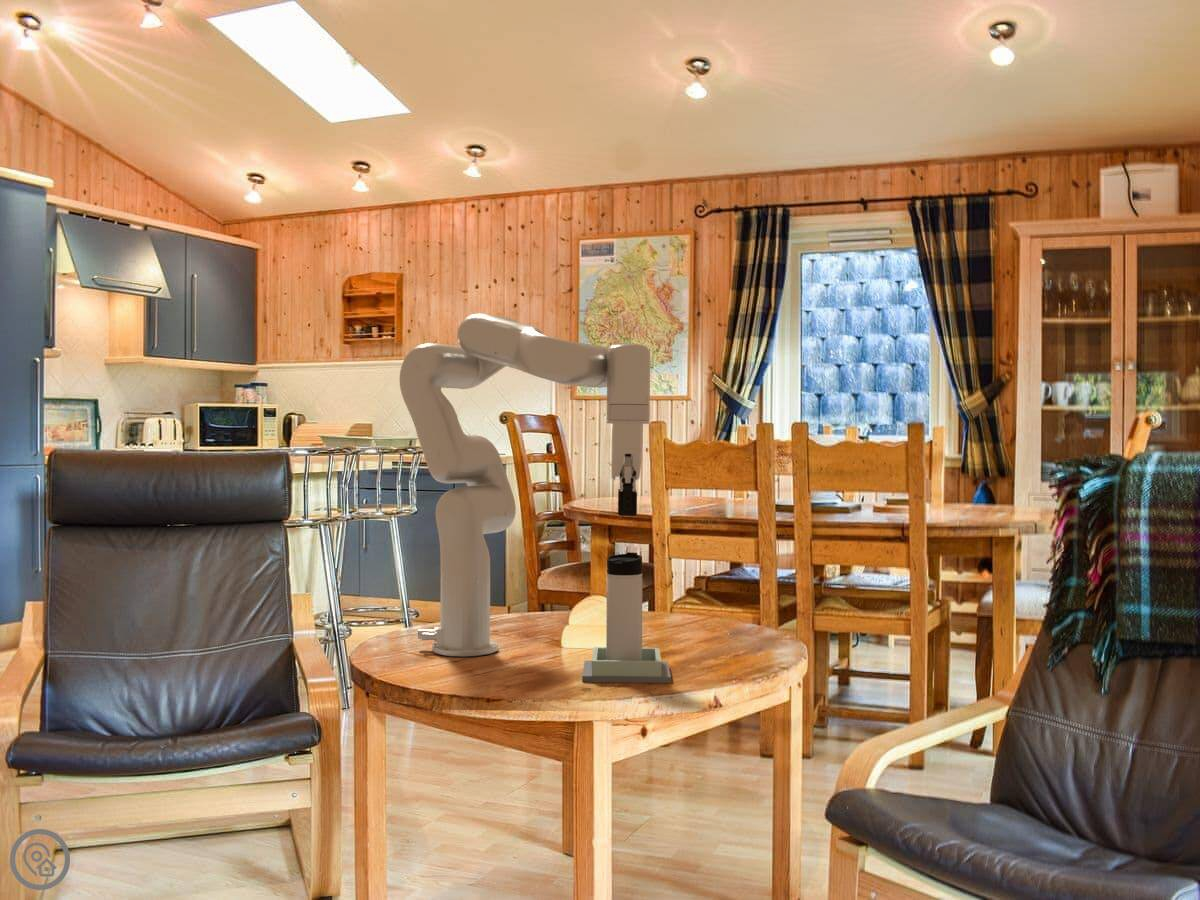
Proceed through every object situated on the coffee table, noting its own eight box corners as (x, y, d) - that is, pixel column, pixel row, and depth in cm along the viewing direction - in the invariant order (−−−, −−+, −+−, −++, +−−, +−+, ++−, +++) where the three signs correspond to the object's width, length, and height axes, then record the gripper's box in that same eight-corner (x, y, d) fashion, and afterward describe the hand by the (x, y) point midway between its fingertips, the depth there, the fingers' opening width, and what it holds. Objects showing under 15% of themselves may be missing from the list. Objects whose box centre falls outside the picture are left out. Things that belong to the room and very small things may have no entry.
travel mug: (648, 666, 189) (649, 553, 189) (632, 673, 183) (632, 557, 183) (617, 662, 192) (617, 551, 191) (600, 669, 186) (600, 555, 186)
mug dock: (582, 681, 181) (582, 661, 181) (584, 666, 193) (584, 646, 193) (670, 683, 181) (671, 662, 181) (667, 667, 193) (667, 647, 193)
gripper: (607, 416, 195) (606, 509, 195) (605, 414, 178) (605, 517, 178) (648, 416, 195) (647, 510, 195) (651, 414, 178) (650, 517, 178)
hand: (627, 513), depth 187 cm, fingers open, 9 cm apart
